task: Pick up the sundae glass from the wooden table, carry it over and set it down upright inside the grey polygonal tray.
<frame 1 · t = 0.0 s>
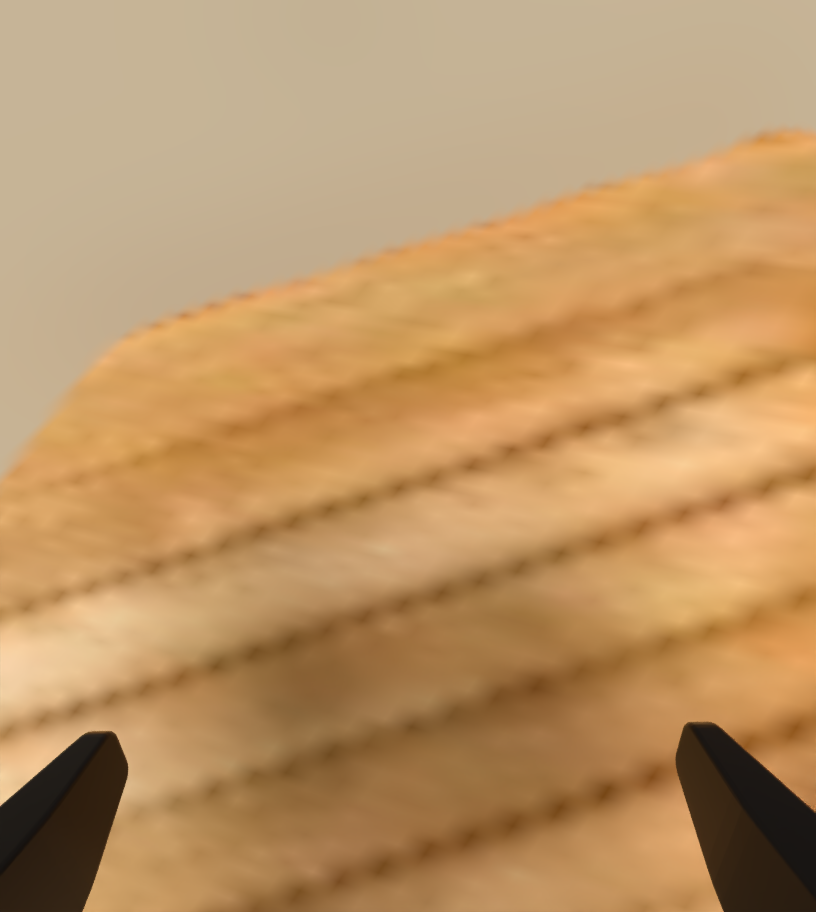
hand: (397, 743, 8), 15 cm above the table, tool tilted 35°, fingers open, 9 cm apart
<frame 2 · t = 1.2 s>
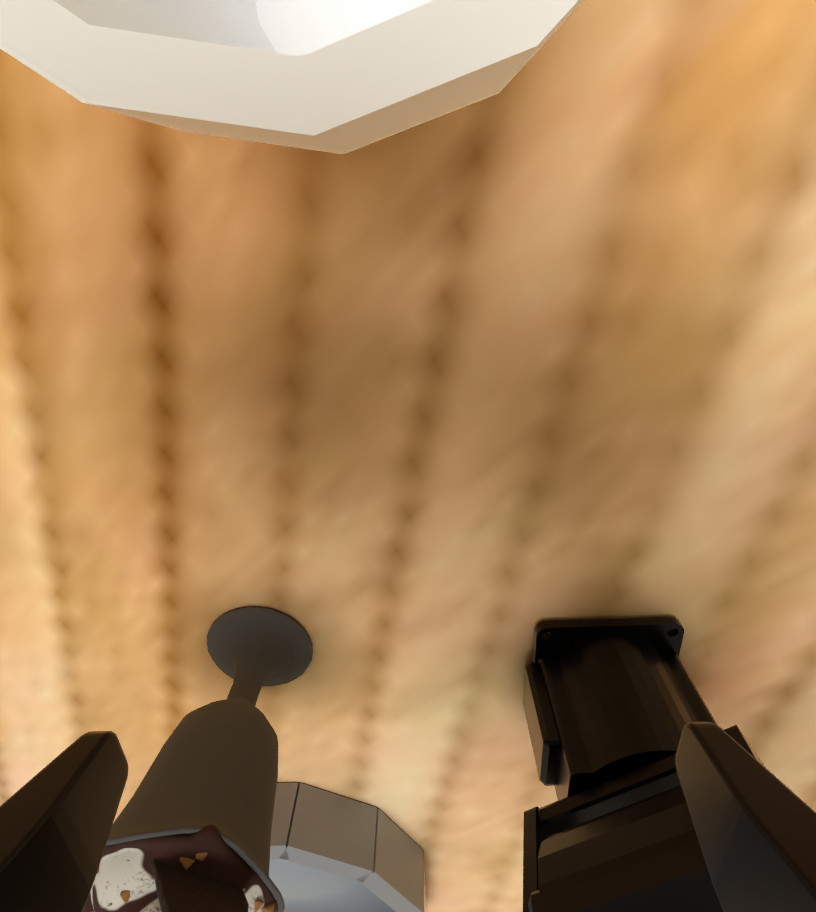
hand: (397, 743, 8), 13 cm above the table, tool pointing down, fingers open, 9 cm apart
grey polygonal tray: (281, 874, 34), on the table
sundae: (262, 644, 25), on the table
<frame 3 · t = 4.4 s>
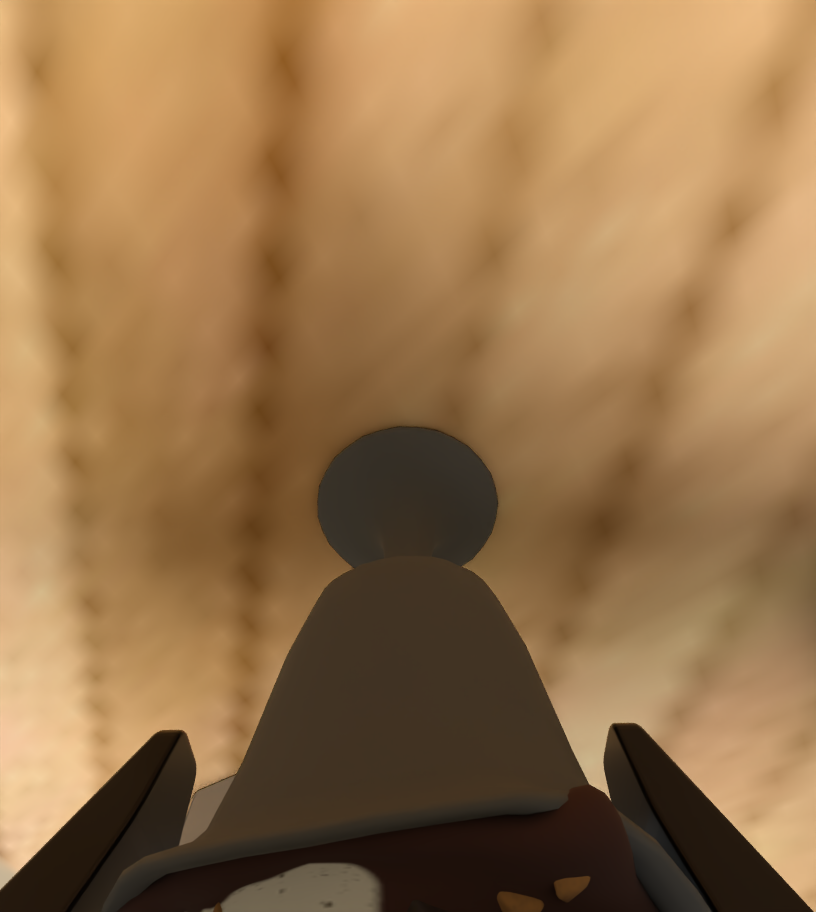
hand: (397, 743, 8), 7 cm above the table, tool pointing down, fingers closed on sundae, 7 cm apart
grey polygonal tray: (377, 885, 23), on the table
sundae: (407, 505, 15), on the table, touching gripper
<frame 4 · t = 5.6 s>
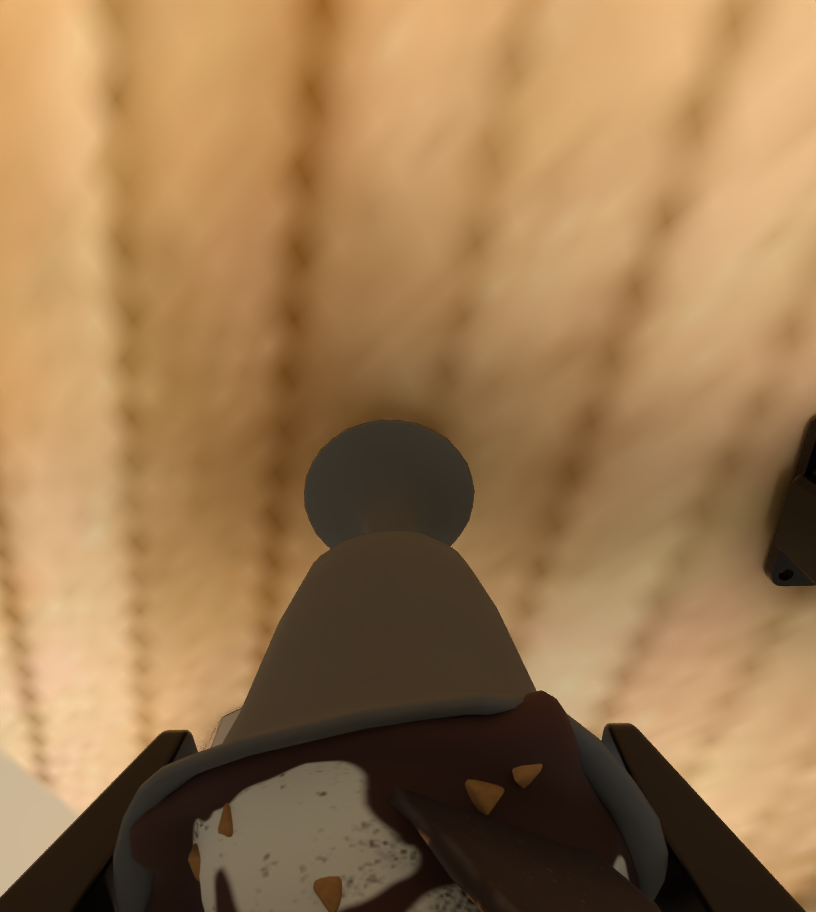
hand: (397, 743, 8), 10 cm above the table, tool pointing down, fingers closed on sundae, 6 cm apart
grey polygonal tray: (381, 808, 26), on the table
sundae: (390, 495, 16), point 2 cm above the table, touching gripper
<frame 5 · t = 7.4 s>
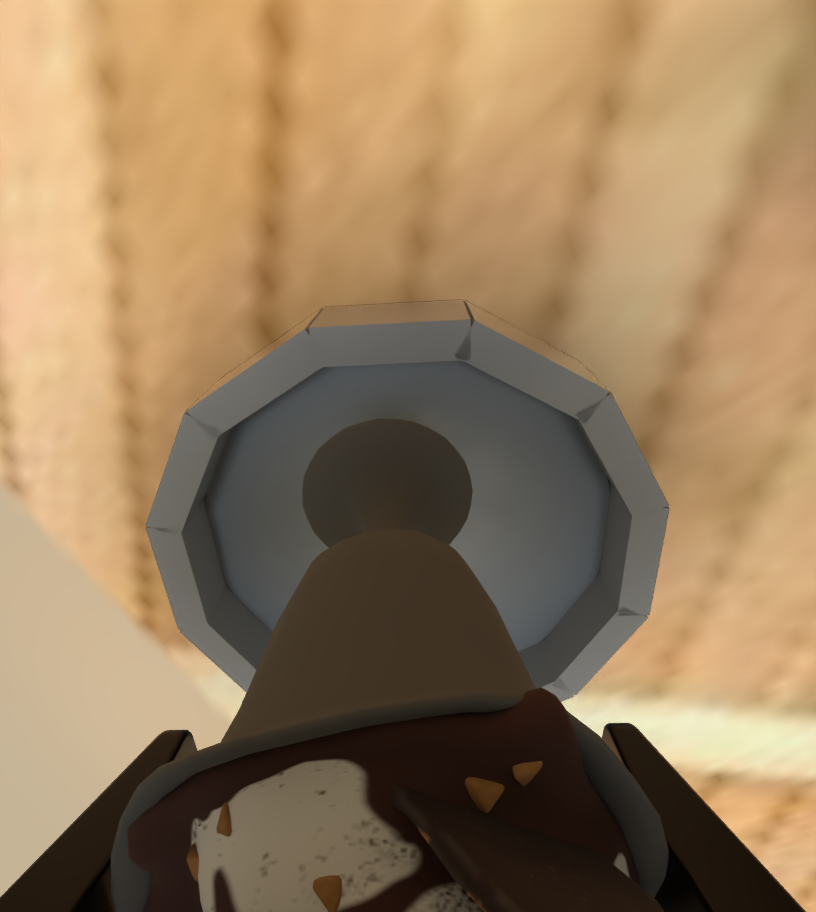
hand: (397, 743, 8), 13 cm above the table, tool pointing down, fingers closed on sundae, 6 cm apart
grey polygonal tray: (407, 524, 22), on the table
sundae: (388, 494, 16), point 5 cm above the table, touching gripper
when the fingers open (9 cm above the table, at t = 9.3 s): sundae stays where it is, resting on grey polygonal tray.
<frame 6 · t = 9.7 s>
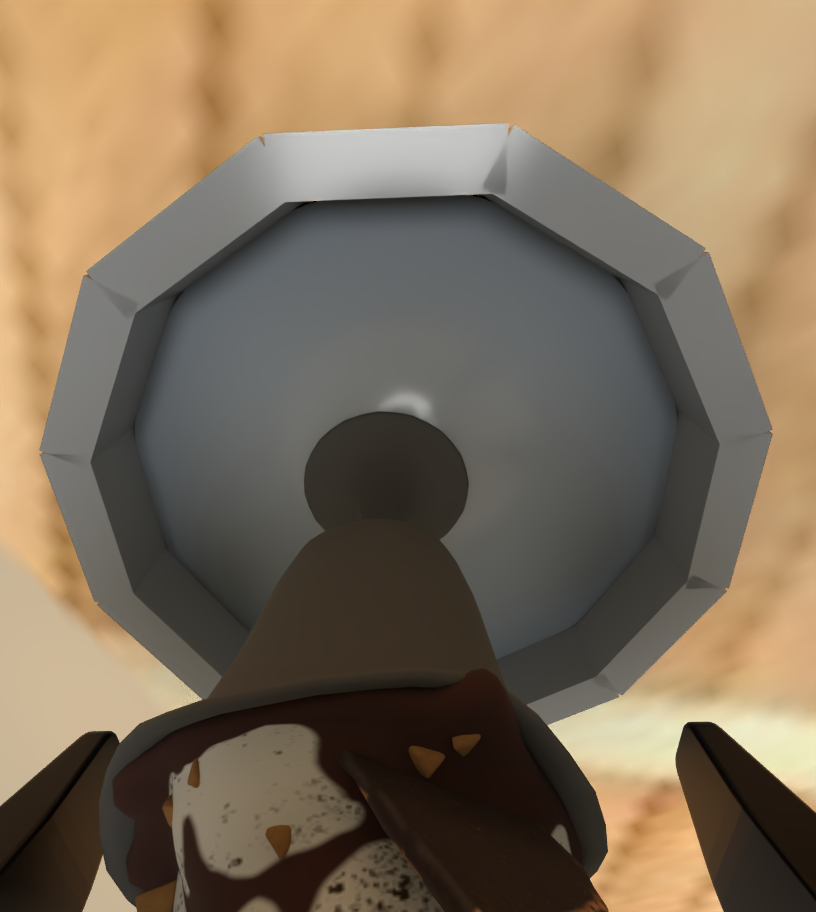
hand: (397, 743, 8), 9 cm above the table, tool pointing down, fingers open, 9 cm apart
grey polygonal tray: (405, 469, 17), on the table
sundae: (387, 485, 16), point 1 cm above the table, touching grey polygonal tray
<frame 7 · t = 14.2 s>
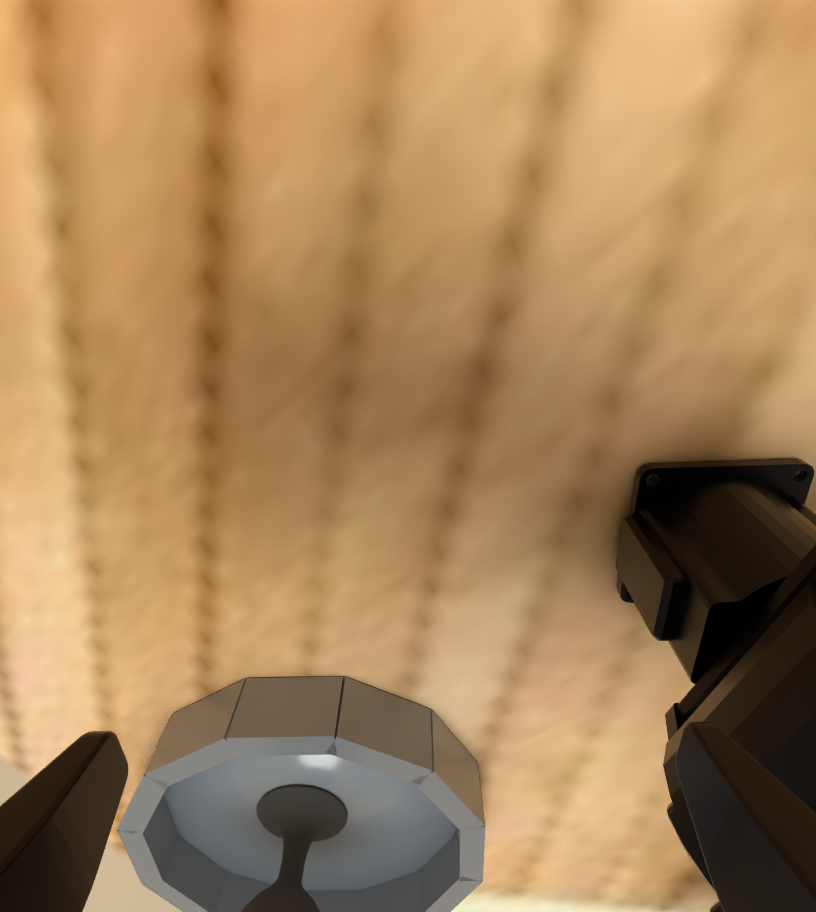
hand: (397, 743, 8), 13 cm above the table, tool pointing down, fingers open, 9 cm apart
grey polygonal tray: (315, 793, 30), on the table
sundae: (303, 809, 29), point 1 cm above the table, touching grey polygonal tray
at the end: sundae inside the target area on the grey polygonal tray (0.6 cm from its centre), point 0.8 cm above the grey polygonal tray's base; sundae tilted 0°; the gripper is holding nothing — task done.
